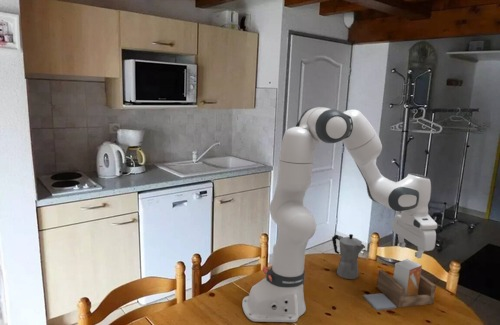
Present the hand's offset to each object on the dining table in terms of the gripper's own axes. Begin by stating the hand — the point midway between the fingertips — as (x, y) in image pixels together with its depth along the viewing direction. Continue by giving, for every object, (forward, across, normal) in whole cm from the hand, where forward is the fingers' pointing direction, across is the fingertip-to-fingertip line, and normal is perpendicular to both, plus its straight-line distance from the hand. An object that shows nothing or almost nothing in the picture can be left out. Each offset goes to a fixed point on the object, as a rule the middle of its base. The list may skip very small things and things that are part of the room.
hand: (409, 251), depth 136 cm
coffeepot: (+18, -20, -15) cm, 31 cm away
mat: (+18, +3, -13) cm, 22 cm away
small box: (+18, 0, 0) cm, 18 cm away
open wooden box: (+18, 0, 0) cm, 18 cm away
